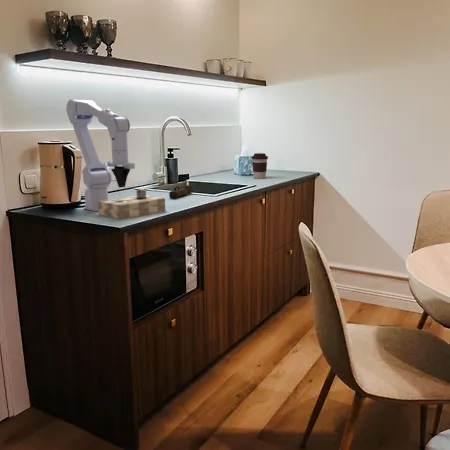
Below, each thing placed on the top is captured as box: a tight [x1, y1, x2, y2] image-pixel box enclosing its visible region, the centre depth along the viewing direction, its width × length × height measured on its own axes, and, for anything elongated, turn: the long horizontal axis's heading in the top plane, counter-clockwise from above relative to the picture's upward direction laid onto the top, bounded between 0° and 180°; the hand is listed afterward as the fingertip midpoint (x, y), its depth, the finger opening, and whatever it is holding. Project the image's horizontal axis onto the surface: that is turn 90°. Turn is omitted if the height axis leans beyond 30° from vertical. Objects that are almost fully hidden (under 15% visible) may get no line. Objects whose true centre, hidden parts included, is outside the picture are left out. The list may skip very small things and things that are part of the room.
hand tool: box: [168, 184, 193, 200], centre depth 221 cm, size 19×4×5 cm, turn 155°
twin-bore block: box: [98, 194, 166, 220], centre depth 181 cm, size 14×21×5 cm, turn 138°
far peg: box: [135, 188, 147, 200], centre depth 184 cm, size 4×4×4 cm
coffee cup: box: [251, 152, 269, 180], centre depth 286 cm, size 10×10×15 cm
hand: (121, 187), depth 176 cm, fingers closed
